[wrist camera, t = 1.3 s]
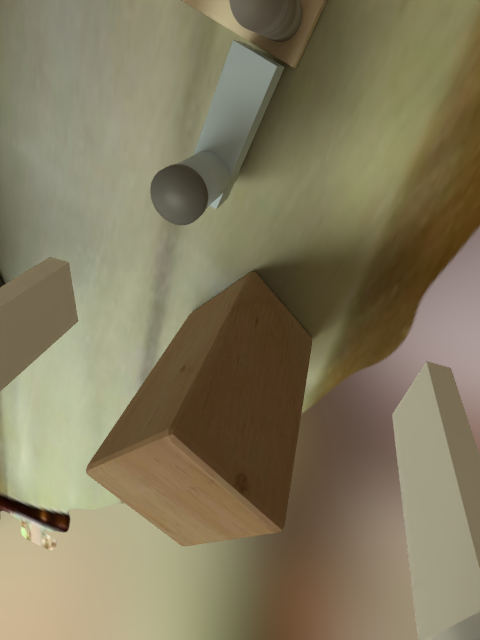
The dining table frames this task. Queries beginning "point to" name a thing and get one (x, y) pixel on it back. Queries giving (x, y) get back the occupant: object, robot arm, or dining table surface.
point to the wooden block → (215, 422)
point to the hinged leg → (219, 138)
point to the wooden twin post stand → (267, 23)
